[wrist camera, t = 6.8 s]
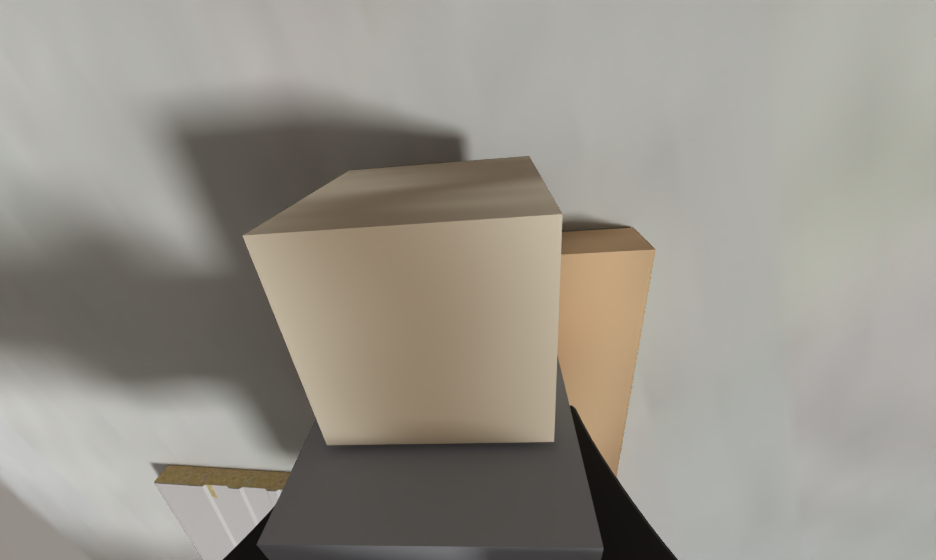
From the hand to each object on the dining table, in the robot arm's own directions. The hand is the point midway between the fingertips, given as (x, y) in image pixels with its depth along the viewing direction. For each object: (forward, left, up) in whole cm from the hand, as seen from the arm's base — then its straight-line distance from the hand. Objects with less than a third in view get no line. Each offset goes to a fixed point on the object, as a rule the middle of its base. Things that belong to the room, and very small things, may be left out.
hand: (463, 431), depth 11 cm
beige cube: (0, -5, -1) cm, 6 cm away
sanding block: (0, +1, -1) cm, 1 cm away
